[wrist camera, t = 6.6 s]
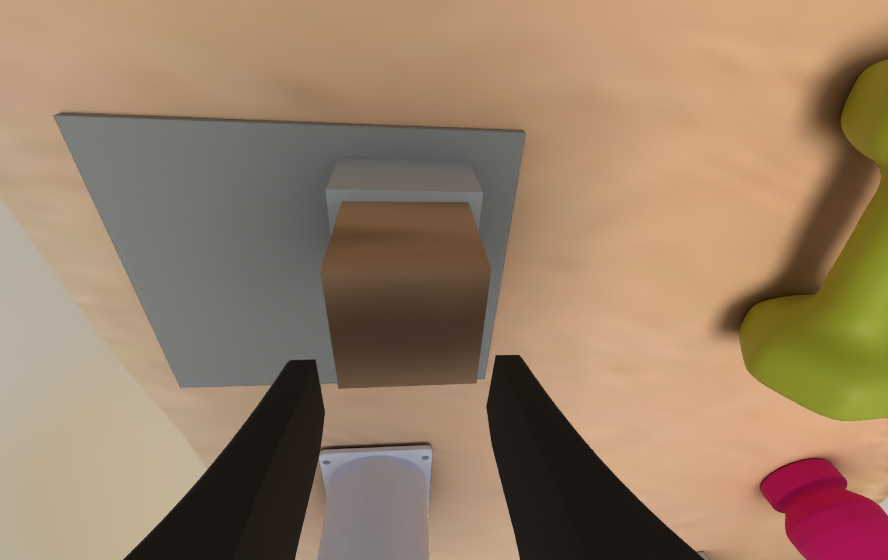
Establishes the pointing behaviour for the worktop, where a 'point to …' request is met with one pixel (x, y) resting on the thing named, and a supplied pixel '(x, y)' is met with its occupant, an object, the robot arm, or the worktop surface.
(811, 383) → the dumbbell
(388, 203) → the walnut block
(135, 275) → the mat
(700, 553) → the coffee box
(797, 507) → the pepper mill
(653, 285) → the worktop surface
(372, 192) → the base block
